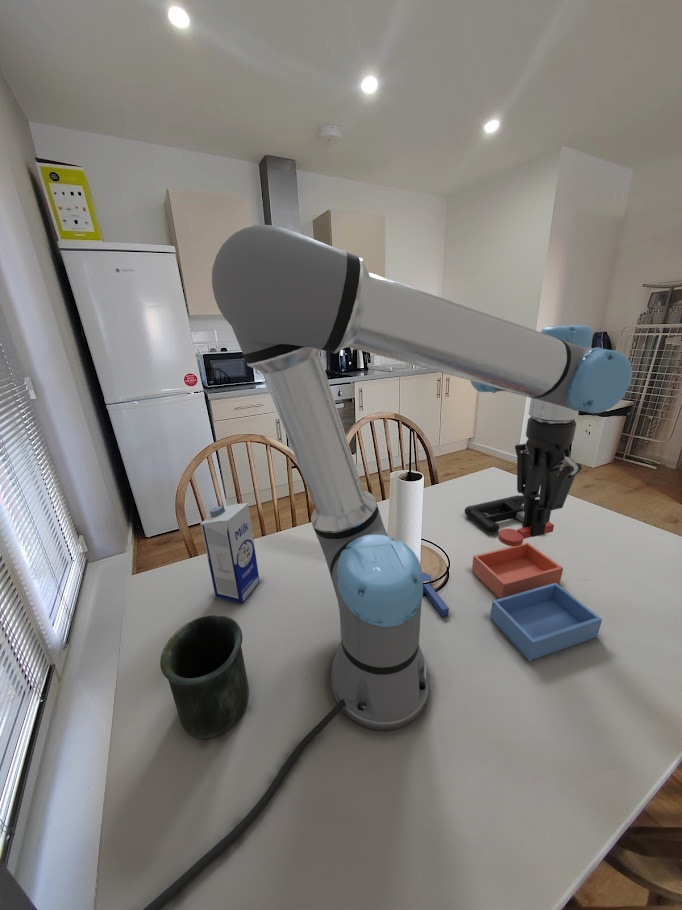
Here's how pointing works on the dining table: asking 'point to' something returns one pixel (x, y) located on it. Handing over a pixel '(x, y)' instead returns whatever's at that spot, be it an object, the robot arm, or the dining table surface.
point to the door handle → (506, 505)
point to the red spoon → (519, 534)
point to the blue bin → (544, 620)
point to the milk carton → (231, 552)
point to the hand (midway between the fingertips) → (533, 531)
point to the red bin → (515, 570)
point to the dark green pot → (207, 674)
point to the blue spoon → (434, 596)
